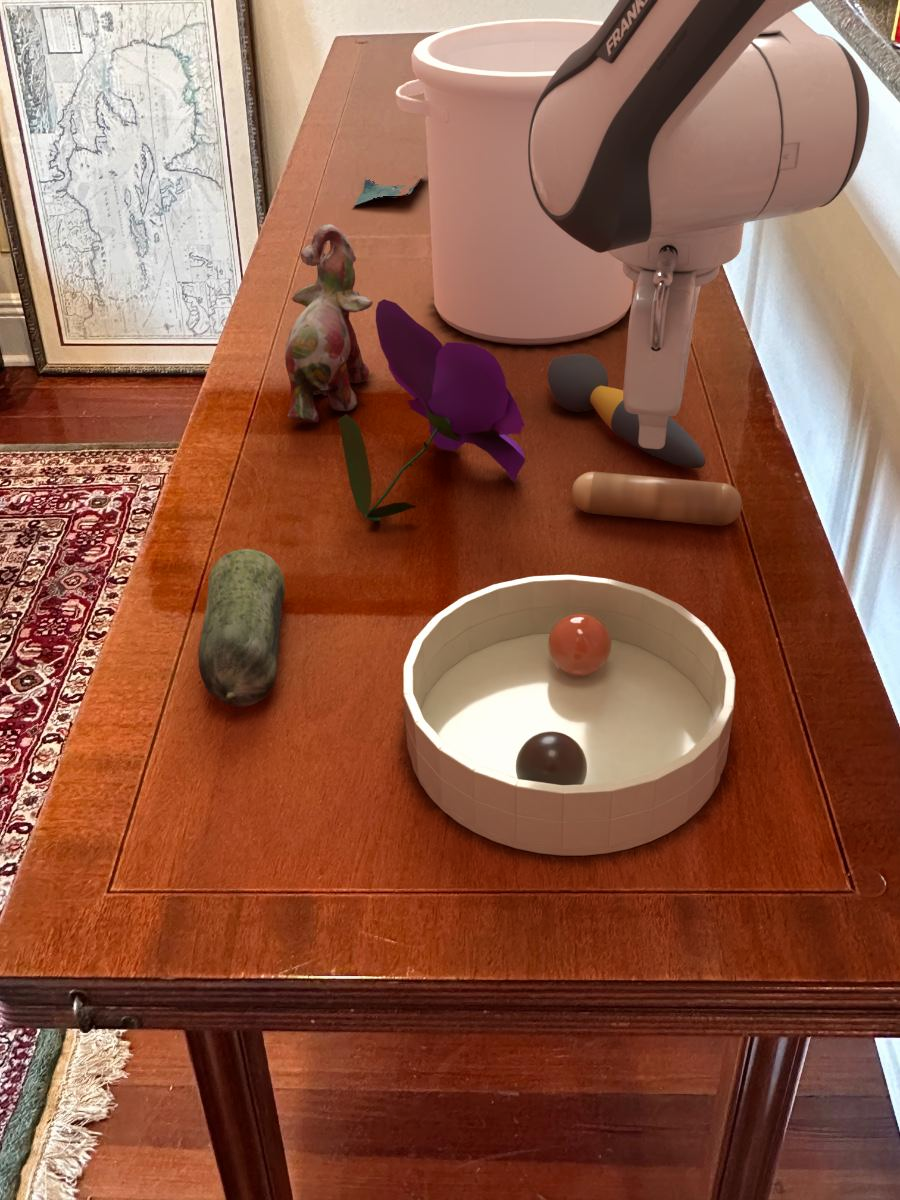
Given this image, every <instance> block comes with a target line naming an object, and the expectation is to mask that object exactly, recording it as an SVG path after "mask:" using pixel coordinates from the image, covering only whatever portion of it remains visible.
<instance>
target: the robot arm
mask: <svg viewBox="0 0 900 1200" xmlns="http://www.w3.org/2000/svg"><path fill="white" fill-rule="evenodd" d="M812 1H813V0H618V1H616V4H615V5H614V7H613V8H612V10H611V11H610V12H609V14H608V16H607V17H606V19H605V20H604V21H603V22H604V23H603V24H602V26H601V27H600V28H599V30H598V31H597V32H596V34H595V35H594V36H593V37H592V38H591V39H590V40H589V41H588V42H587V43H586V44H585V45H583V46H582V47H580V48H579V49H577V50H576V51H574V52H573V53H572V54H571V55H570V56H569V57H568V58H567V59H566V60H565V61H564V63H563V64H562V65H561V66H560V67H559V69H558V70H557V71H556V72H555V74H554V75H553V76H552V78H551V79H550V81H549V82H548V84H547V85H546V87H545V89H544V91H543V93H542V94H541V96H540V98H539V100H538V102H537V104H536V107H535V109H534V112H533V116H532V120H531V124H530V130H529V140H528V161H529V171H530V177H531V182H532V186H533V190H534V193H535V196H536V198H537V201H538V203H539V205H540V206H541V208H542V210H543V211H544V212H545V213H546V215H547V216H548V217H549V218H550V219H551V220H552V221H553V222H554V223H555V224H556V225H558V226H559V227H560V228H561V229H562V230H563V231H565V232H566V233H567V234H569V235H570V236H571V237H573V238H574V239H575V240H577V241H579V242H580V243H582V244H583V245H585V246H587V247H588V248H590V249H592V250H594V251H595V252H598V253H602V252H606V251H608V252H609V253H610V254H611V255H612V256H613V257H615V258H616V259H618V260H620V261H622V262H623V272H624V274H625V275H626V276H627V277H628V278H629V279H631V280H632V281H633V283H636V286H635V289H634V293H633V296H632V303H631V305H630V312H629V321H628V330H627V341H626V350H625V351H626V353H625V364H624V379H623V389H622V390H623V403H624V408H625V410H626V411H627V412H629V413H632V414H638V418H639V440H638V443H639V445H640V446H641V447H643V448H650V449H661V448H663V447H664V445H665V438H666V431H667V422H668V417H671V418H672V417H675V416H677V415H678V414H679V412H680V409H681V405H682V401H683V397H684V396H683V395H684V389H685V383H686V377H687V370H688V364H689V358H690V353H691V352H690V351H691V345H692V339H693V332H694V328H695V327H694V326H695V320H696V314H697V309H698V301H699V295H700V291H701V287H702V286H704V285H707V284H709V283H711V282H712V281H714V280H715V279H716V278H717V277H718V275H719V273H720V267H721V266H723V265H725V264H727V263H730V262H731V261H732V260H734V259H735V258H737V256H738V255H739V253H740V252H741V249H742V243H743V236H744V235H743V234H744V226H745V224H746V223H751V222H758V221H763V220H770V219H776V218H781V217H787V216H793V215H798V214H802V213H806V212H808V211H811V210H814V209H817V208H822V207H825V206H827V205H829V204H830V203H832V202H833V201H834V200H835V199H837V197H838V196H839V195H840V194H841V193H842V191H844V189H845V187H846V186H847V185H848V184H849V182H850V181H851V179H852V177H853V176H854V173H855V172H856V170H857V168H858V165H859V163H860V160H861V158H862V154H863V151H864V147H865V145H866V141H867V136H868V129H869V123H870V122H869V121H870V96H869V89H868V85H867V82H866V79H865V76H864V73H863V71H862V70H861V68H860V66H859V64H858V63H857V61H856V60H855V58H854V57H853V55H852V54H851V53H850V52H849V51H848V49H847V48H846V47H845V46H844V45H843V44H842V43H840V42H839V41H838V39H836V38H834V37H832V36H831V35H827V34H820V33H818V32H817V31H815V30H814V29H812V28H811V26H809V25H808V24H807V23H806V22H805V21H803V20H802V19H801V18H800V17H799V16H798V15H797V14H796V13H795V12H794V11H795V10H796V9H798V8H800V7H802V6H803V5H806V4H807V3H809V2H812Z"/></svg>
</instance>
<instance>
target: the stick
mask: <svg viewBox="0 0 900 1200" xmlns="http://www.w3.org/2000/svg"><path fill="white" fill-rule="evenodd" d="M571 498H572V502H573V503H574V505H575V506H576V507H577V508H578V510H580V511H582V512H584V513H586V514H590V515H591V514H592V515H603V516H611V517H613V516H614V517H622V518H623V517H624V518H635V519H644V520H645V519H646V520H654V521H655V520H656V521H666V522H677V523H687V524H697V525H706V526H707V525H708V526H717V527H723V526H727V525H729V524H732V523H733V522H735V521H736V520H737V519H738V518H739V516H740V515H741V513H742V509H743V499H742V496H741V493H740V492H739V491H738V489H737V488H736V487H734V486H733V485H732V484H729V483H726V482H716V481H707V480H706V481H705V480H692V479H684V478H683V479H681V478H670V477H660V476H659V477H658V476H647V475H636V474H625V473H614V472H604V471H603V472H602V471H588V472H584V473H583V474H581V475H580V476H578V477H577V478H576V480H575V481H574V482H573V484H572V487H571Z"/></svg>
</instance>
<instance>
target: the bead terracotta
mask: <svg viewBox="0 0 900 1200" xmlns="http://www.w3.org/2000/svg"><path fill="white" fill-rule="evenodd" d="M611 646H612V645H611V637H610V634H609V631H608V629H607V628H606V626H605V625H604V624H603V623H602V622H601V621H600V620H599V619H598V618H596V617H594V616H592V615H589V614H586V613H574V614H570V615H567V616H565V617H563V618H562V619H560V620H559V621H558V622H557V623H556V624H555V625H554V627H553V628H552V630H551V632H550V635H549V638H548V650H549V654H550V657H551V659H552V661H553V662H554V664H555V665H556V666H557V667H558V668H559V669H560V670H562V671H563V672H565V673H567V674H569V675H573V676H587V675H590V674H593V673H595V672H597V671H598V670H599V669H601V668H602V667H603V666H604V664H605V663H606V662H607V660H608V658H609V656H610V653H611Z"/></svg>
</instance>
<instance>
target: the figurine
mask: <svg viewBox="0 0 900 1200" xmlns="http://www.w3.org/2000/svg"><path fill="white" fill-rule="evenodd" d="M328 241H329V251H328V253H327V254H326V253H325V251H326V247H327V245H328ZM299 254H300V259H301V262H302V263H303V264H305V265H306V266H311V267H316V271H317V278H316V280H315V282H314V283H311V284H309V285H306V286H303V287H302V288H300V289H298V290H297V291H296V292H294V293H293V295H291V301H293V303H295V304H299V305H302V306H303V307H304V306H305V308H304V309H303V310H302V311H301V313H300V314H299V315H298V316H297V317H296V319H295V320H294V321H293V324H292V326H291V328H290V330H289V334H288V338H287V342H286V344H285V352H284V360H285V361H284V362H285V368H286V373H287V376H288V379H289V384H290V385H289V386H290V405H289V406H290V407H289V410H288V414H287V417H288V418H289V419H290V420H291V421H294V422H309V423H317V422H319V421H320V416H319V414H318V411H317V410H316V407H315V403H314V402H315V401H314V396H318V395H323V396H327V397H328V401H329V405H330V407H331V408H332V409H333V410H335V411H338V412H348V411H352V410H353V409H354V408H356V407H357V406H358V403H359V402H358V396H357V394H356V393H355V391H353V389H352V386H351V383H353V384H359V383H362V382H363V383H364V382H366V380H368V377H369V375H370V374H369V373H370V369H369V367H368V365H367V364H366V363H365V362H364V361H363V358H362V357H363V356H362V352H361V349H360V346H359V343H358V338H357V335H356V331H355V329H354V326H353V325H352V323H351V320H350V313H358V312H363V311H365V310H367V309H369V308H371V307H372V305H373V302H374V301H373V300H371V299H370V298H369V297H368V296H364V295H361V294H360V293H359V291H356V290H354V287H355V285H356V270H355V267H354V264H355V262H356V261H357V257H356V254H355V252H354V248H353V246H352V245H351V243H350V239H349V238H348V237H347V236H346V235H345V234H344V233H343V232H342V230H341V229H340V228H337V227H336V226H335V225H333V224H331V223H330V224H329V223H328V224H322V225H321V226H319V227H318V228H317V229H316V230H315V233H314V234H313V237H312V241H311V244H309V245H307V246H306V247H304V248H303V249H302V250H301V251H300V253H299Z"/></svg>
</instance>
